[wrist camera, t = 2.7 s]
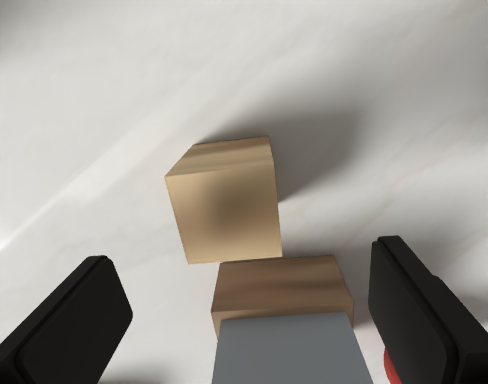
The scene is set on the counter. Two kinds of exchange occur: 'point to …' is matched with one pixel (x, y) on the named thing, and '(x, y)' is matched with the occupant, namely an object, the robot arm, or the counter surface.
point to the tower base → (280, 289)
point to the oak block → (226, 201)
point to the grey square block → (289, 351)
